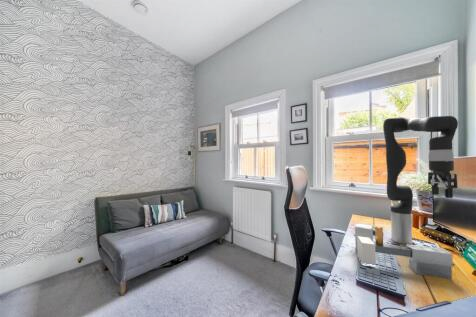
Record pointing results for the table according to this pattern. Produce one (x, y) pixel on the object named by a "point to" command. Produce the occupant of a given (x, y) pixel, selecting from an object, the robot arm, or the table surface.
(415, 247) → the grey sleeve
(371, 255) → the socket block
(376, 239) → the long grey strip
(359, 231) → the supplement box
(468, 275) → the table surface
